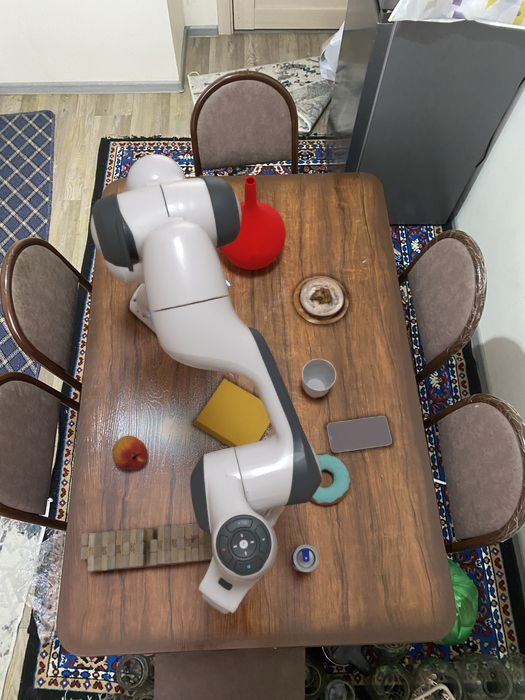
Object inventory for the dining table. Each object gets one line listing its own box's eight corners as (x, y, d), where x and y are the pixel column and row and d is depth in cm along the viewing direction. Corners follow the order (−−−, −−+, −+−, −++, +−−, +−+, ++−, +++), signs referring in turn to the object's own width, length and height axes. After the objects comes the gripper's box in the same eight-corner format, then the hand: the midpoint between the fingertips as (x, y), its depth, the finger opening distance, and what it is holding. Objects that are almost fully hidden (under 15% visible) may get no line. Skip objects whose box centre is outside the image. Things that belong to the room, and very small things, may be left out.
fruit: (123, 478, 123) (115, 472, 115) (111, 448, 125) (102, 441, 118) (154, 463, 124) (147, 456, 117) (141, 433, 127) (134, 425, 120)
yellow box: (193, 424, 128) (193, 423, 127) (224, 378, 133) (224, 378, 132) (248, 458, 125) (248, 457, 124) (278, 410, 129) (278, 409, 129)
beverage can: (288, 548, 117) (291, 545, 103) (310, 546, 117) (317, 543, 103) (290, 572, 115) (294, 573, 101) (313, 570, 115) (320, 570, 101)
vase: (207, 261, 146) (195, 190, 119) (242, 216, 152) (238, 139, 125) (262, 291, 143) (263, 225, 115) (296, 244, 149) (304, 170, 121)
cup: (328, 406, 130) (333, 393, 121) (296, 399, 130) (299, 387, 121) (333, 376, 133) (338, 361, 124) (302, 370, 134) (305, 355, 124)
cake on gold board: (346, 276, 145) (348, 268, 141) (350, 324, 139) (352, 317, 135) (293, 276, 144) (294, 268, 141) (294, 324, 139) (295, 317, 135)
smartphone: (392, 444, 125) (332, 453, 124) (392, 445, 126) (331, 454, 125) (385, 415, 128) (326, 423, 127) (384, 416, 129) (325, 424, 128)
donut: (288, 475, 123) (289, 472, 119) (326, 445, 126) (328, 441, 122) (320, 517, 119) (322, 515, 116) (359, 484, 122) (362, 482, 119)
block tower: (92, 572, 116) (223, 560, 116) (79, 572, 108) (219, 560, 108) (94, 534, 119) (221, 523, 119) (81, 532, 111) (217, 520, 111)
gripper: (264, 477, 82) (263, 488, 95) (191, 598, 75) (201, 593, 88) (298, 498, 81) (293, 507, 94) (227, 624, 74) (232, 615, 87)
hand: (248, 550), depth 91 cm, fingers closed on travel mug, 6 cm apart
